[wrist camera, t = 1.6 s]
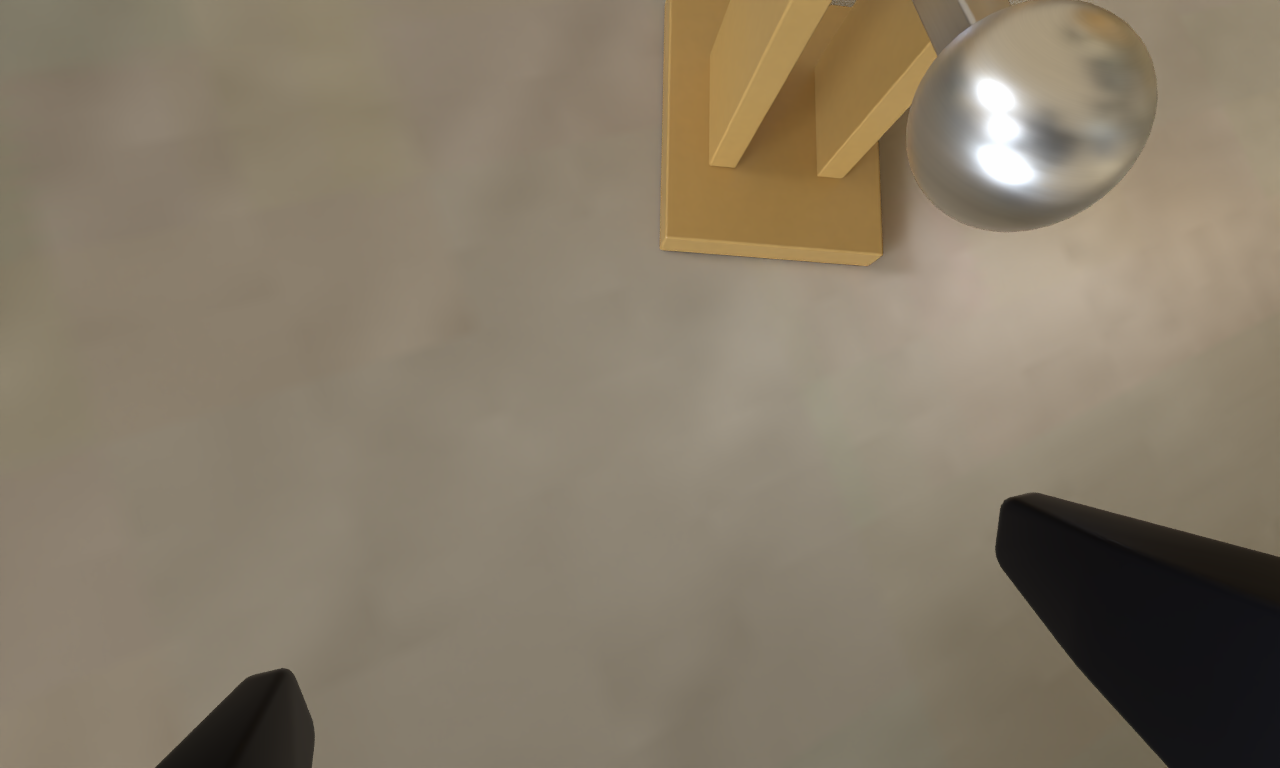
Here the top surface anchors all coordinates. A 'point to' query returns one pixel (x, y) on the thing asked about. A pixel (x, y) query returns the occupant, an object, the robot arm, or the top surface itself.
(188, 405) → the top surface
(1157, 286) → the top surface
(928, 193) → the tap lever
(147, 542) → the top surface
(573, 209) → the top surface
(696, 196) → the bracket
